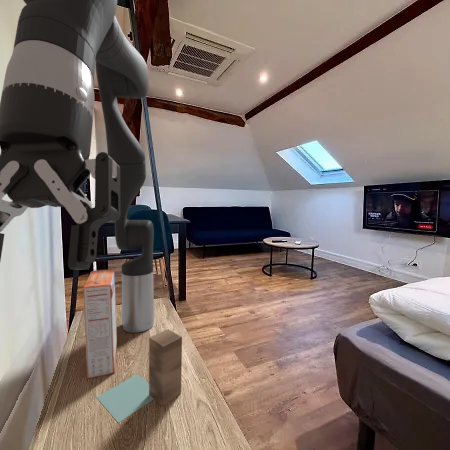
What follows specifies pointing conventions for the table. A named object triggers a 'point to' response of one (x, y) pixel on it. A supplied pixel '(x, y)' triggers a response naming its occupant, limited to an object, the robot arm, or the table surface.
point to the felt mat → (126, 397)
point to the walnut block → (165, 366)
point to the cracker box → (100, 323)
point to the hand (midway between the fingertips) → (30, 271)
